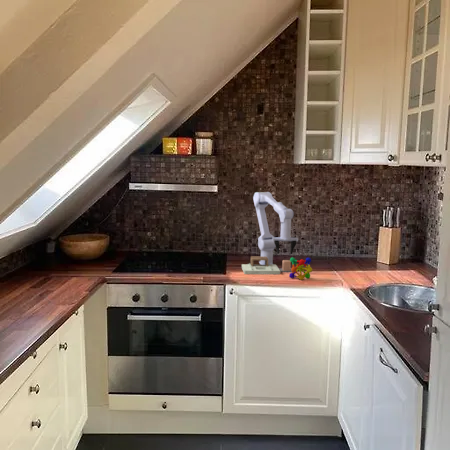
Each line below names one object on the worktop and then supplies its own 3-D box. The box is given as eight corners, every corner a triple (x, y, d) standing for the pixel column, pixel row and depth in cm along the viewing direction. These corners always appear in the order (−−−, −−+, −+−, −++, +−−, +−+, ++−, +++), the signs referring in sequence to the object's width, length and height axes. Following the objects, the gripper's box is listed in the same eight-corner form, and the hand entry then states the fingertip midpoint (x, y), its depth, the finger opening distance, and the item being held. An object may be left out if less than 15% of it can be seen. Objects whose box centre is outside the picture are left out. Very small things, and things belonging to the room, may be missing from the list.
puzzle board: (241, 267, 280) (241, 263, 280) (275, 267, 281) (275, 263, 281) (244, 274, 264) (244, 269, 264) (280, 274, 266) (280, 269, 265)
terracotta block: (282, 268, 276) (282, 260, 276) (289, 268, 277) (289, 260, 276) (283, 270, 273) (283, 261, 272) (290, 270, 273) (290, 261, 272)
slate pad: (279, 269, 278) (279, 268, 278) (291, 269, 278) (291, 268, 278) (281, 272, 271) (281, 271, 271) (293, 272, 272) (293, 271, 272)
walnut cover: (250, 263, 282) (250, 256, 281) (266, 263, 282) (266, 256, 282) (251, 266, 275) (252, 258, 274) (268, 266, 275) (268, 259, 275)
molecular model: (309, 277, 260) (310, 256, 258) (312, 280, 253) (313, 259, 251) (288, 277, 260) (289, 256, 258) (290, 280, 253) (291, 259, 251)
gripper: (274, 231, 267) (273, 255, 269) (299, 231, 268) (298, 255, 270) (272, 229, 274) (271, 252, 276) (297, 229, 275) (296, 252, 277)
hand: (284, 253), depth 274 cm, fingers open, 7 cm apart
